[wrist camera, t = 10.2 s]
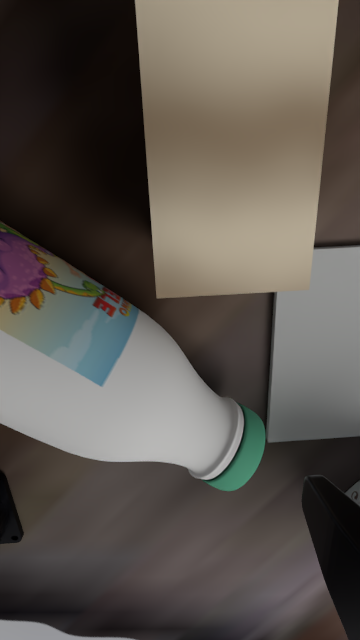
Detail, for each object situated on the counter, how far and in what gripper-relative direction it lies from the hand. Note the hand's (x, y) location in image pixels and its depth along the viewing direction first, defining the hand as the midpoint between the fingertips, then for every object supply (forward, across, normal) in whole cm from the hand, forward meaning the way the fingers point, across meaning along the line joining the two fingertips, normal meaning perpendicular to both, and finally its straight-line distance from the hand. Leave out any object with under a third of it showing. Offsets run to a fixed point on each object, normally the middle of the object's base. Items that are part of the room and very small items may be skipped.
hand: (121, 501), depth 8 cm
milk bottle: (+9, +11, -5) cm, 15 cm away
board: (+8, -4, -8) cm, 12 cm away
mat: (+12, -12, +3) cm, 18 cm away
